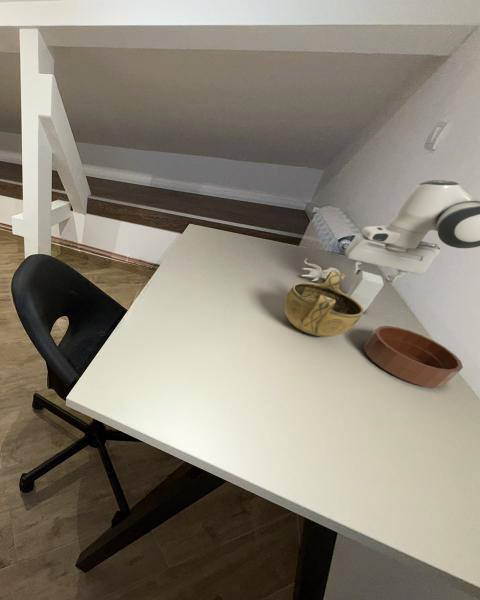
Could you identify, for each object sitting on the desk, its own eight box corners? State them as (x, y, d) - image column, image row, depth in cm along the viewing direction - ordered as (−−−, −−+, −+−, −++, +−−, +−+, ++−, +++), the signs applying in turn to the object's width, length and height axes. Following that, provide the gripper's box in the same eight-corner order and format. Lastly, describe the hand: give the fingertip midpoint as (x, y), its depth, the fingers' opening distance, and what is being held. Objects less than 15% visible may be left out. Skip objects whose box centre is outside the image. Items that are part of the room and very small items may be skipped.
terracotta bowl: (424, 355, 85) (440, 338, 82) (458, 399, 72) (479, 381, 69) (354, 335, 90) (366, 319, 86) (374, 373, 77) (389, 356, 73)
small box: (364, 312, 101) (384, 285, 95) (343, 305, 104) (362, 278, 98) (363, 302, 107) (382, 276, 101) (344, 296, 109) (361, 270, 103)
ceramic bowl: (284, 301, 102) (307, 260, 94) (345, 325, 94) (376, 283, 85) (266, 330, 88) (291, 285, 80) (336, 362, 79) (372, 315, 71)
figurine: (305, 256, 116) (346, 260, 110) (302, 261, 124) (340, 264, 118) (301, 278, 116) (341, 283, 110) (298, 281, 124) (336, 285, 118)
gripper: (438, 242, 91) (406, 282, 99) (358, 226, 97) (333, 265, 105) (450, 249, 86) (415, 291, 94) (364, 232, 92) (338, 272, 100)
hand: (371, 277), depth 100 cm, fingers open, 8 cm apart
